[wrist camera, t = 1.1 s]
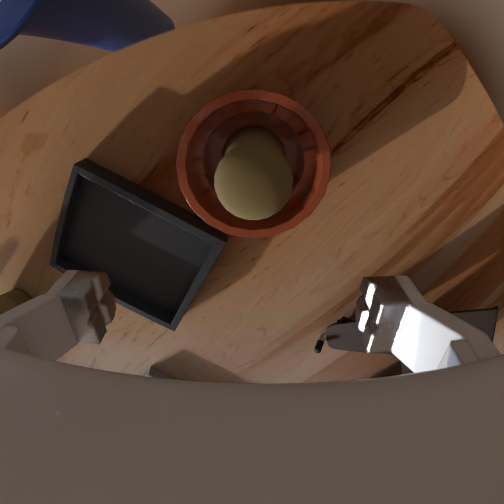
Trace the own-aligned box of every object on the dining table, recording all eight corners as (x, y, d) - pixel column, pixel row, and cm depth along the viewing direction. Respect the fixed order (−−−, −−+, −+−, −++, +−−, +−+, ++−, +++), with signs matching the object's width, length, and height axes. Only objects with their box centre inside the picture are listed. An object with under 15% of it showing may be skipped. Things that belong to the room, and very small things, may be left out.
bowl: (167, 180, 30) (152, 195, 26) (229, 68, 25) (223, 62, 20) (275, 237, 33) (278, 261, 28) (343, 136, 28) (359, 144, 23)
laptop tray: (324, 282, 42) (304, 332, 36) (489, 266, 29) (501, 322, 23) (356, 375, 52) (343, 418, 46) (476, 372, 39) (475, 419, 33)
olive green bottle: (297, 145, 28) (320, 171, 18) (265, 197, 30) (271, 248, 21) (240, 114, 27) (233, 122, 17) (210, 168, 29) (188, 207, 19)
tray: (59, 255, 34) (49, 265, 32) (85, 158, 29) (73, 163, 26) (178, 317, 38) (174, 331, 36) (228, 232, 33) (226, 243, 30)
